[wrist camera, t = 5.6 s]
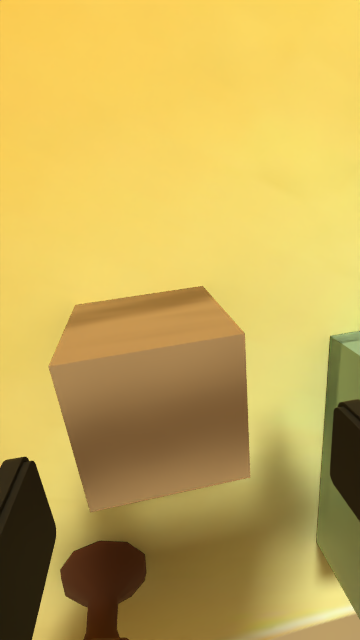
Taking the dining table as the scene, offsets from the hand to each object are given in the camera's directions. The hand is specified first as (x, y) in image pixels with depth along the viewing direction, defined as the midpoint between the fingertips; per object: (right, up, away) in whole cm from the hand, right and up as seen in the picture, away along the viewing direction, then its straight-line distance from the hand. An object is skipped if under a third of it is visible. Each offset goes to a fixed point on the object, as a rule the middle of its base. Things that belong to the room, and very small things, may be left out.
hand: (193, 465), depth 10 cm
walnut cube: (-2, +3, +6) cm, 7 cm away
